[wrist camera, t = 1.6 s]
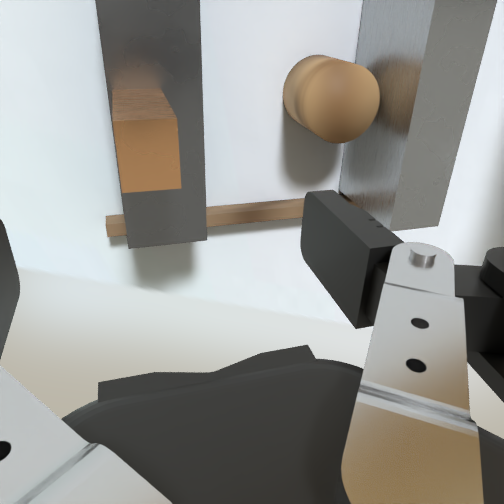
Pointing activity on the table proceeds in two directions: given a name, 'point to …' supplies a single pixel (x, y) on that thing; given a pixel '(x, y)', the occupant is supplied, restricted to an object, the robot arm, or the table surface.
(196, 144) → the press jaw
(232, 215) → the press frame
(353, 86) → the nut
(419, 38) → the grey rectangular block
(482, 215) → the table surface
